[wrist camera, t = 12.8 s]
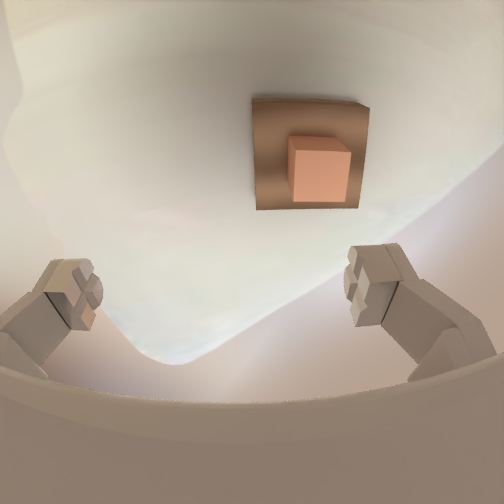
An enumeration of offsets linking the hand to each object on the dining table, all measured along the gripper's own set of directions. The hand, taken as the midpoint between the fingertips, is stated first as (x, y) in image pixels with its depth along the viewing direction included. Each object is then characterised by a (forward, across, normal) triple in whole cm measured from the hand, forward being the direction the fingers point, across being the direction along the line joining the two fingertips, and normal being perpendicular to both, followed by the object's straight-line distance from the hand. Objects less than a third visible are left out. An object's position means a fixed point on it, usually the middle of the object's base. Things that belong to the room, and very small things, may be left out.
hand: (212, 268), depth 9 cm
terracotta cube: (+22, -7, +5) cm, 24 cm away
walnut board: (+26, -7, +5) cm, 28 cm away
